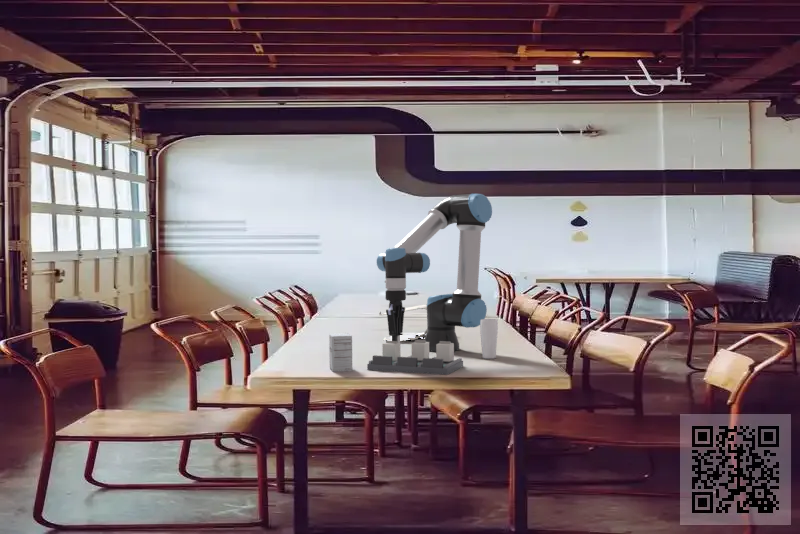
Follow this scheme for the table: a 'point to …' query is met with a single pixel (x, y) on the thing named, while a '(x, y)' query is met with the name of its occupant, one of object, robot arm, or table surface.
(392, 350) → the white block
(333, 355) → the supplement box
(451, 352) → the switch slider
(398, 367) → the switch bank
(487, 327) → the drinking glass
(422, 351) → the white block with ridge
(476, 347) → the table surface
